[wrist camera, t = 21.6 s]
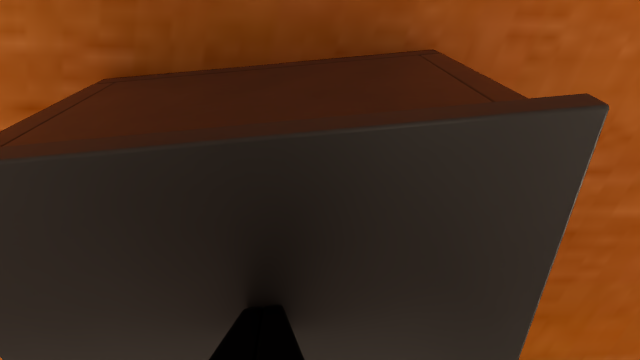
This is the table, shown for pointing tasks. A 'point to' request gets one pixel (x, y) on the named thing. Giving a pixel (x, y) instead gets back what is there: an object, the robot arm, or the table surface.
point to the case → (259, 96)
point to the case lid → (294, 233)
